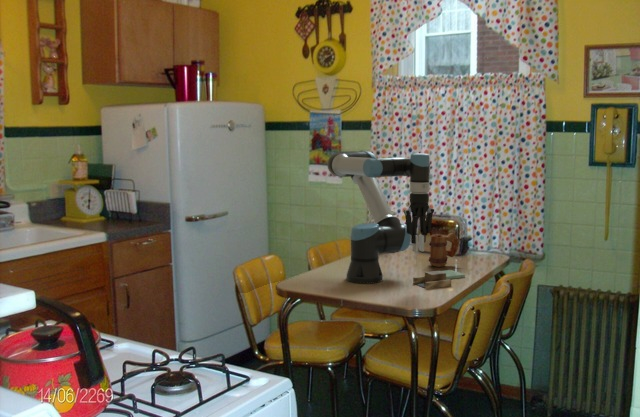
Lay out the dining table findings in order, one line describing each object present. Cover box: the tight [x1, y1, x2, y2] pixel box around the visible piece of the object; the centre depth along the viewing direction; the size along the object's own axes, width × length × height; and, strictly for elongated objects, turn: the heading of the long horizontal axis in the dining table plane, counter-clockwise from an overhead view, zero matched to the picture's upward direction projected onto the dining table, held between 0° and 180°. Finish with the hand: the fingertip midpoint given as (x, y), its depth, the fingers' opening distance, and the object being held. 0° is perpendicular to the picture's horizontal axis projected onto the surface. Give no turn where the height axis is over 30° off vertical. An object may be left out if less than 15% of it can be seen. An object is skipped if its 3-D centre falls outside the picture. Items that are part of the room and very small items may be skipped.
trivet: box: [440, 269, 466, 280], centre depth 279 cm, size 10×10×1 cm
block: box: [424, 270, 447, 282], centre depth 264 cm, size 7×5×5 cm
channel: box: [412, 275, 452, 290], centre depth 264 cm, size 12×10×2 cm
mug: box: [428, 232, 459, 268], centre depth 299 cm, size 15×8×15 cm, turn 105°
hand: (418, 251), depth 259 cm, fingers open, 2 cm apart
